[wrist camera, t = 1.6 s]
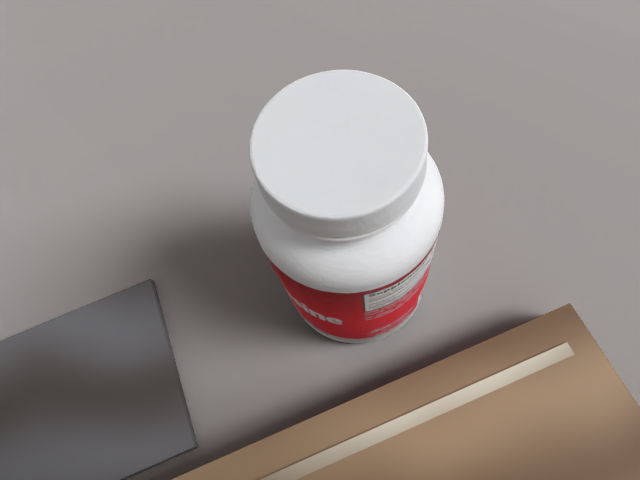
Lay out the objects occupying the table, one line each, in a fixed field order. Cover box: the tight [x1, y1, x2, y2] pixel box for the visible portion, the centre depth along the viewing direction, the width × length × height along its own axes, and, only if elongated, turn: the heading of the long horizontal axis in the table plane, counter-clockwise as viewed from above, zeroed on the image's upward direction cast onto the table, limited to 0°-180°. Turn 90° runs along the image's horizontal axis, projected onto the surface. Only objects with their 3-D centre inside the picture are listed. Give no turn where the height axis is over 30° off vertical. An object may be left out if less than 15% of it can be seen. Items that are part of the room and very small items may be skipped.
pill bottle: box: [249, 70, 444, 343], centre depth 18 cm, size 6×6×11 cm
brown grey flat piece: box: [0, 279, 640, 480], centre depth 19 cm, size 18×28×2 cm, turn 112°
